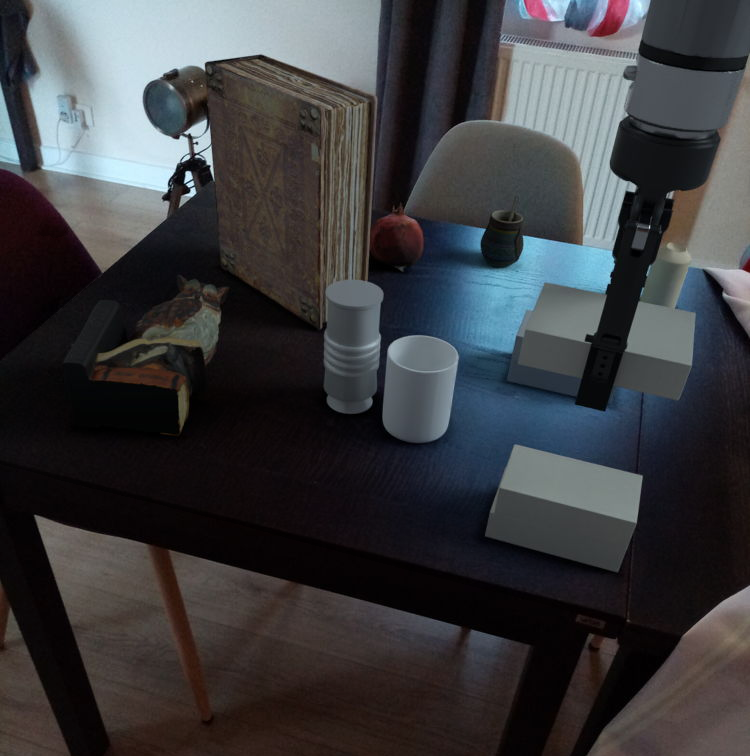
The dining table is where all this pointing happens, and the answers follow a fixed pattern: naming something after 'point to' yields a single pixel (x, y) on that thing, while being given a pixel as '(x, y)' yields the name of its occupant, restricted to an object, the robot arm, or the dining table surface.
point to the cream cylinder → (666, 276)
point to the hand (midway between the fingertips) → (597, 376)
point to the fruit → (396, 240)
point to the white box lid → (582, 316)
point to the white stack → (566, 507)
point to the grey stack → (541, 371)
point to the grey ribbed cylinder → (352, 344)
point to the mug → (419, 388)
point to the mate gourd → (503, 238)
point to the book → (291, 179)
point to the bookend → (145, 362)
